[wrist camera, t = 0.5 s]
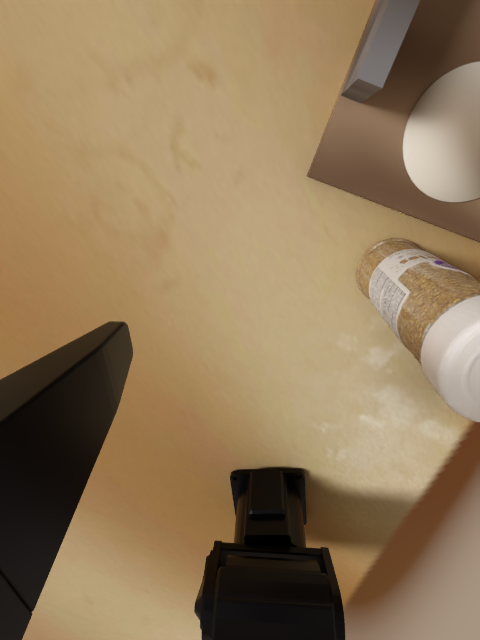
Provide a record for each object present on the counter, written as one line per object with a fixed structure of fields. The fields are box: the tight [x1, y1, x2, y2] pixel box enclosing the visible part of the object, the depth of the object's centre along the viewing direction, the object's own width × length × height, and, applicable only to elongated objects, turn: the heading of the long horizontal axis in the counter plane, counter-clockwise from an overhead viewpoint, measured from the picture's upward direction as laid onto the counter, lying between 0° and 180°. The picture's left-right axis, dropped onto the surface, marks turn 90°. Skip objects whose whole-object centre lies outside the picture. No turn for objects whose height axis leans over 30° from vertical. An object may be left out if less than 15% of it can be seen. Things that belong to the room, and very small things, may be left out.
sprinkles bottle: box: [356, 238, 480, 422], centre depth 18 cm, size 5×5×14 cm
